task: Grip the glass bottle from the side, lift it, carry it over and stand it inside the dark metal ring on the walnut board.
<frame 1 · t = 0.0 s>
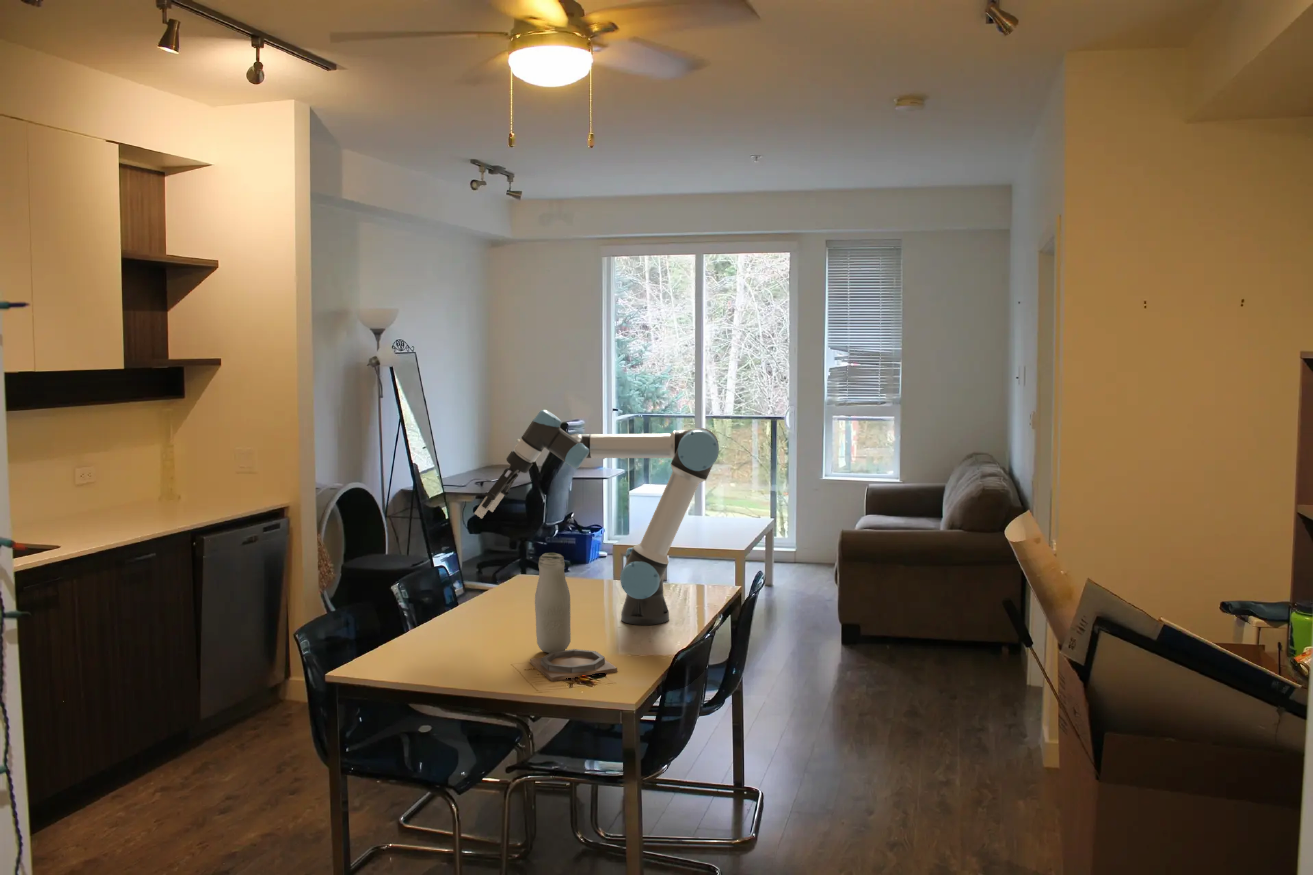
hand: (483, 512, 298), 36 cm above the table, tool tilted 35°, fingers open, 13 cm apart
glass bottle: (553, 652, 275), on the table
socket board: (572, 667, 260), on the table
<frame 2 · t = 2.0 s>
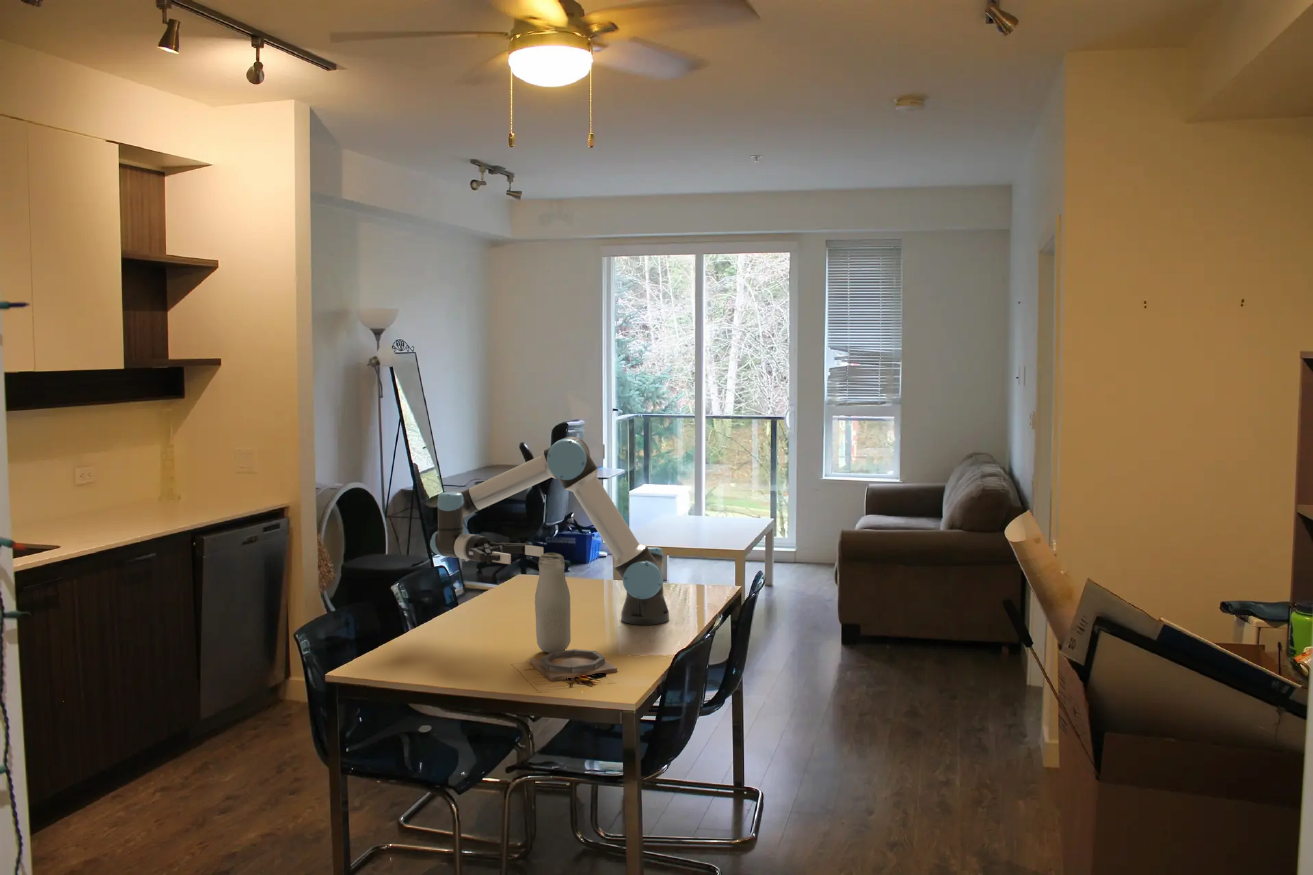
hand: (526, 555, 279), 26 cm above the table, tool horizontal, fingers open, 13 cm apart
nothing on the table moved.
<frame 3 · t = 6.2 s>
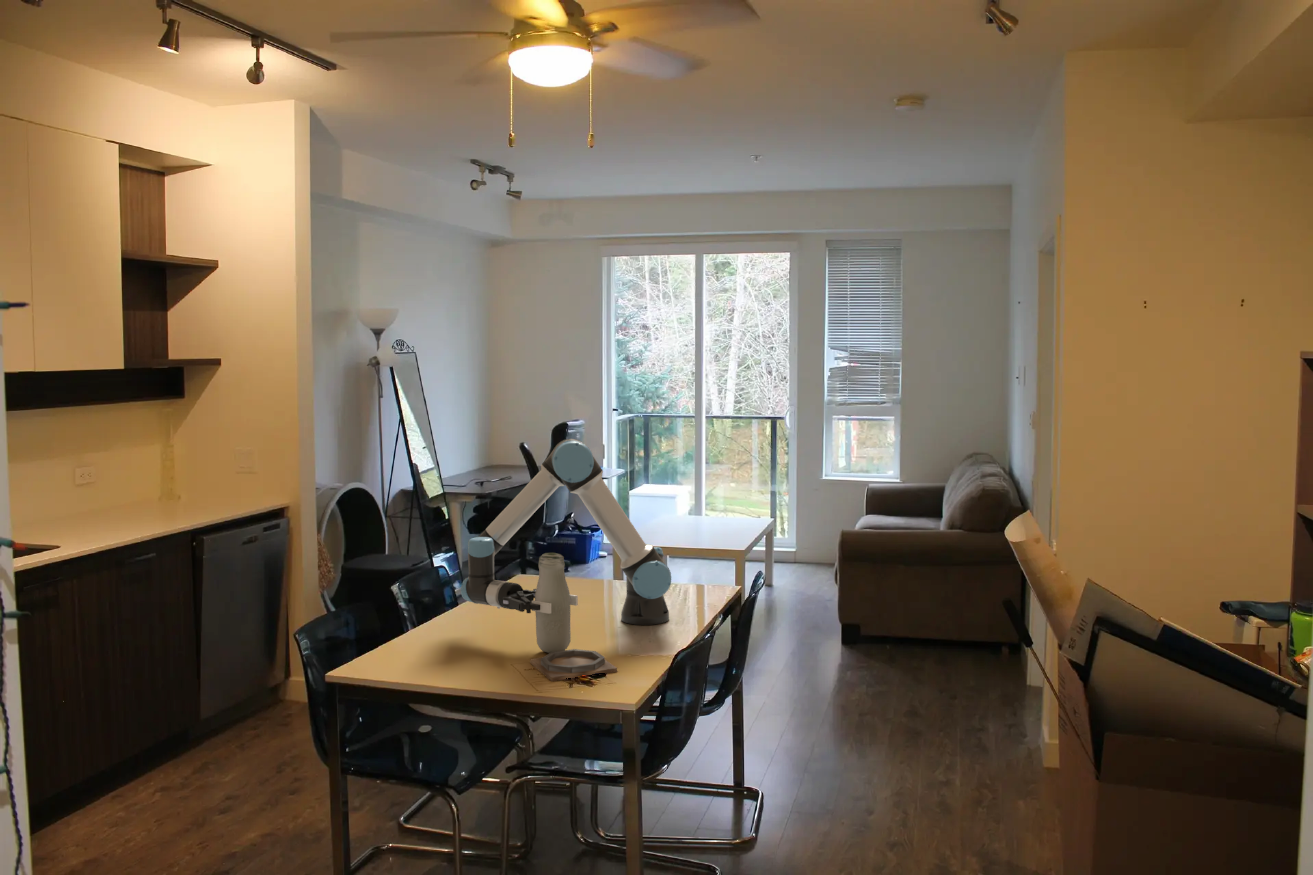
hand: (563, 604, 271), 14 cm above the table, tool horizontal, fingers closed on glass bottle, 10 cm apart
glass bottle: (553, 652, 275), on the table, touching gripper
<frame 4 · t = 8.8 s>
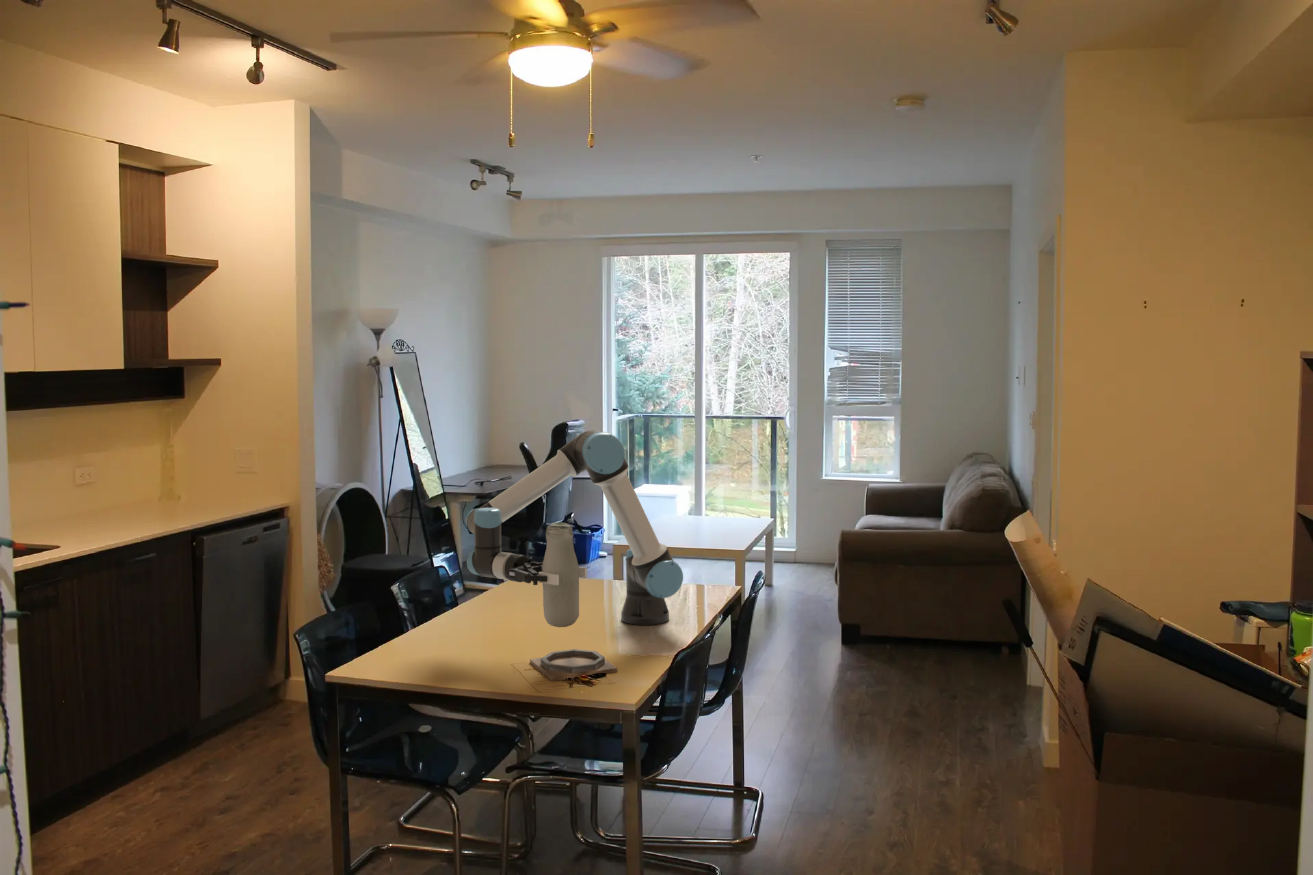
hand: (572, 576, 260), 24 cm above the table, tool horizontal, fingers closed on glass bottle, 10 cm apart
glass bottle: (561, 626, 263), point 10 cm above the table, touching gripper
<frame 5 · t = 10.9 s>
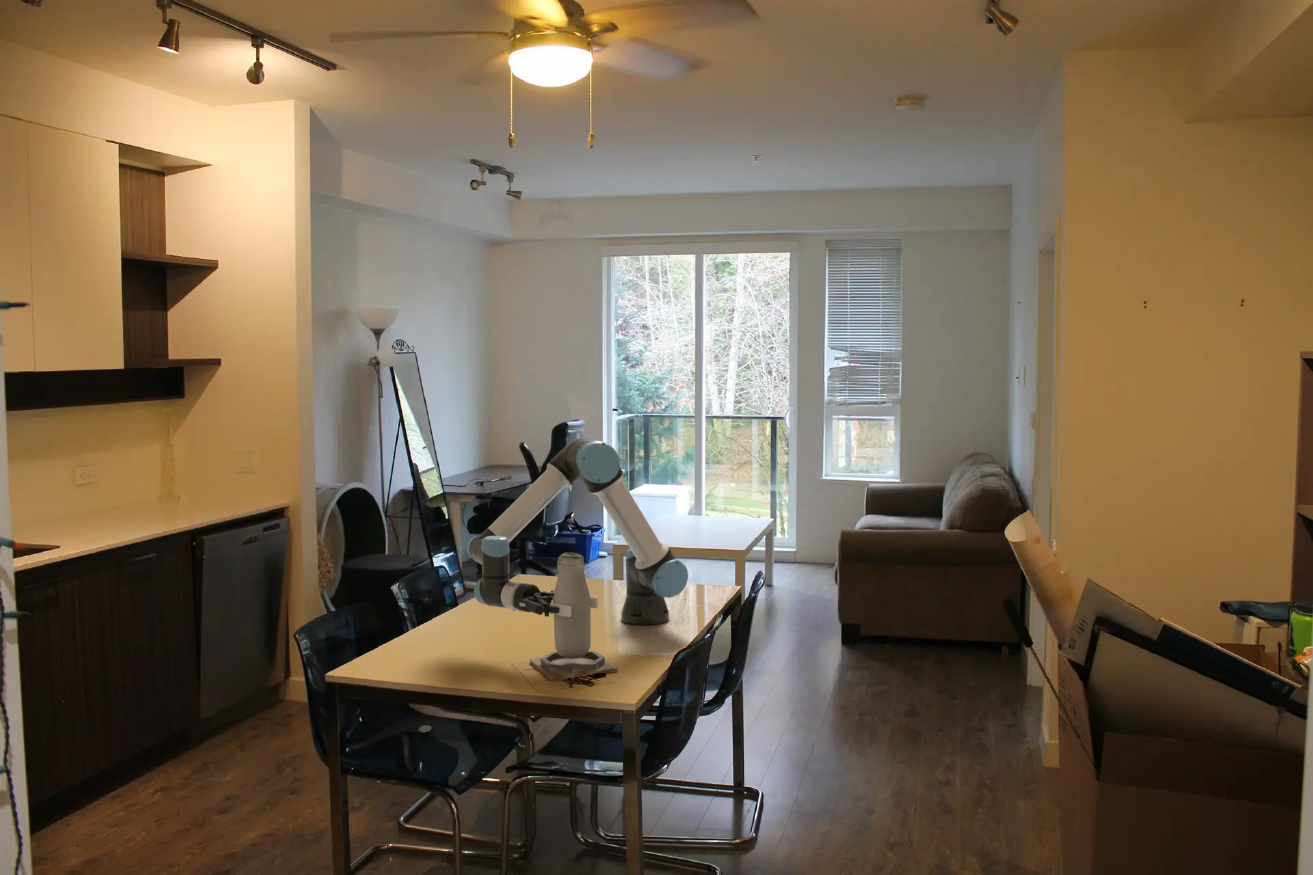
hand: (584, 607, 257), 17 cm above the table, tool horizontal, fingers closed on glass bottle, 10 cm apart
glass bottle: (572, 658, 260), point 2 cm above the table, touching gripper
when the fingers open (16 cm above the table, at t = 11.5 s): glass bottle drops 1 cm, resting on socket board.
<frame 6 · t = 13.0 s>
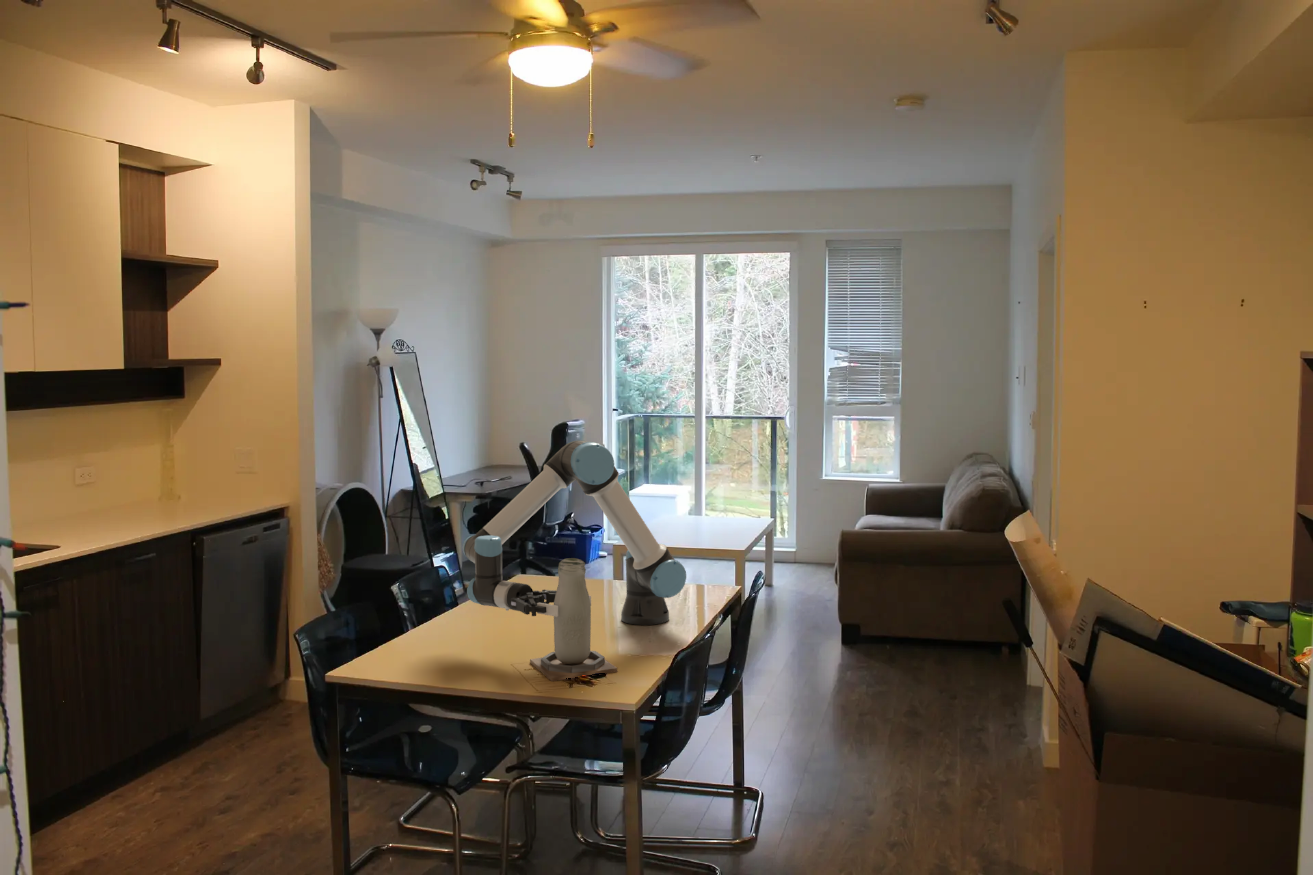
hand: (574, 605, 258), 17 cm above the table, tool horizontal, fingers open, 13 cm apart
glass bottle: (571, 664, 260), point 1 cm above the table, touching socket board
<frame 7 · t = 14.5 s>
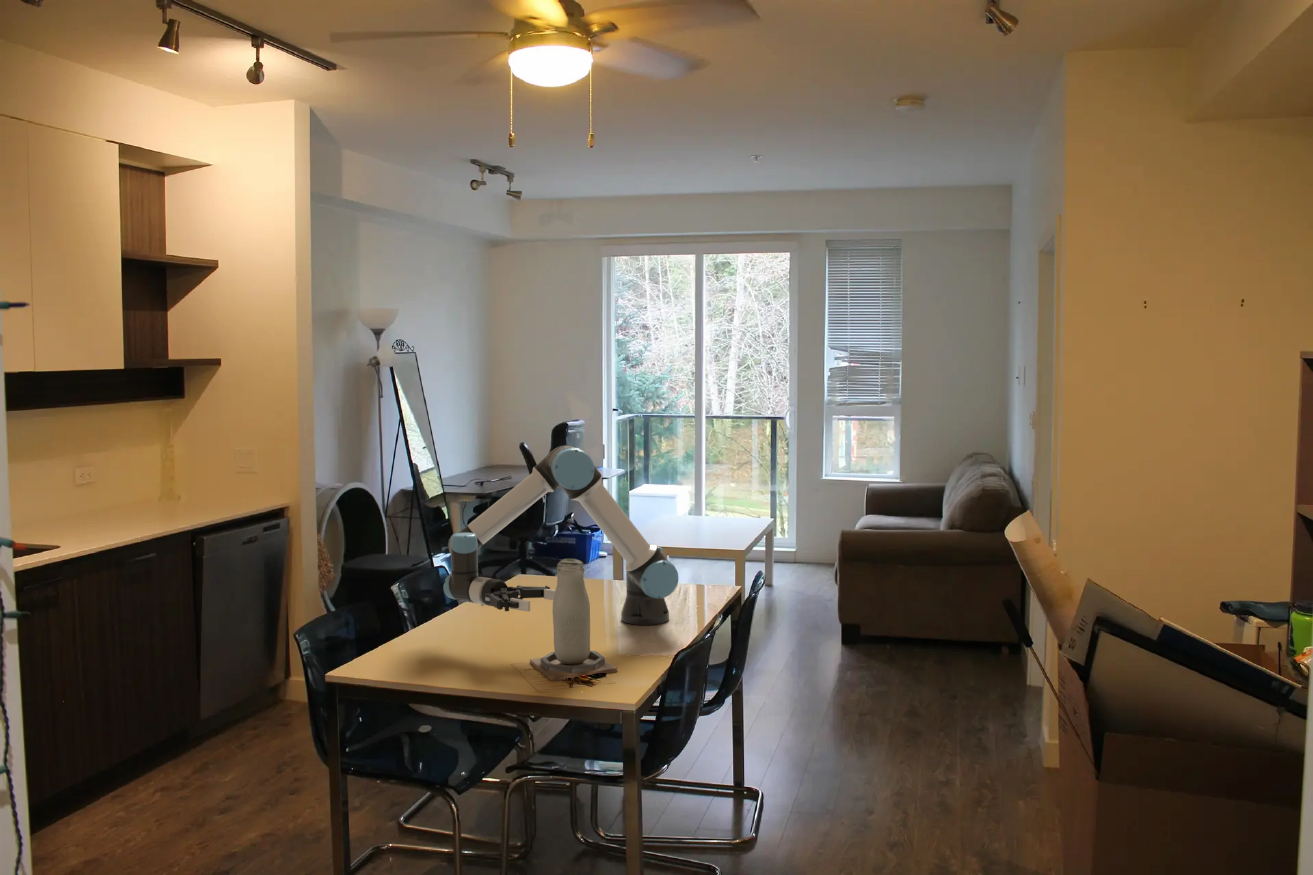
hand: (546, 601, 264), 17 cm above the table, tool horizontal, fingers open, 13 cm apart
nothing on the table moved.
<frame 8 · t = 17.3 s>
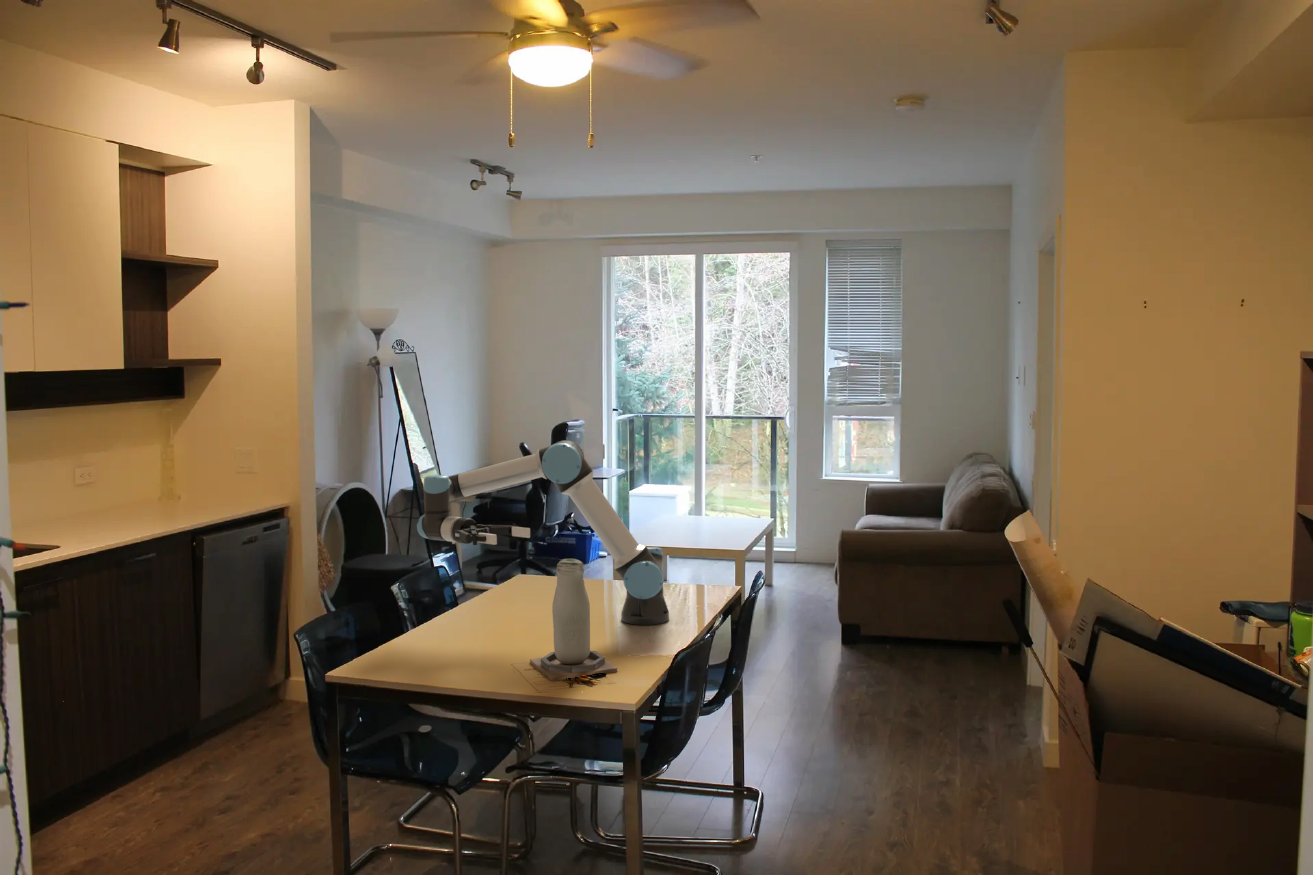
hand: (512, 536, 277), 32 cm above the table, tool horizontal, fingers open, 13 cm apart
nothing on the table moved.
at the end: glass bottle 0.3 cm off-centre on the socket board, point 0.8 cm above the socket board's base; glass bottle tilted 0°; the gripper is holding nothing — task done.
